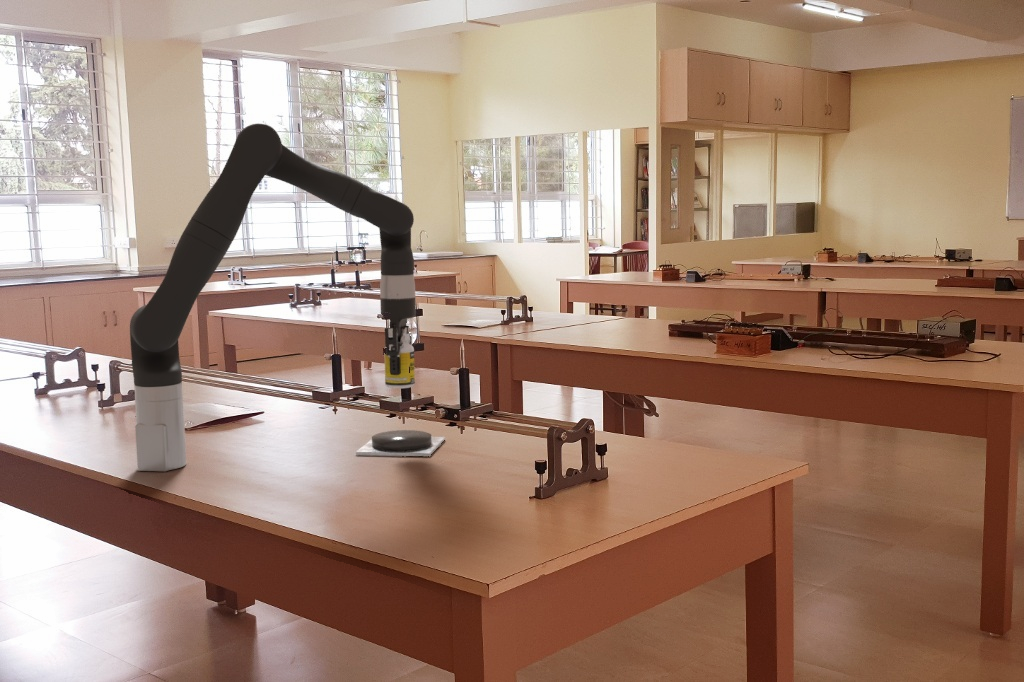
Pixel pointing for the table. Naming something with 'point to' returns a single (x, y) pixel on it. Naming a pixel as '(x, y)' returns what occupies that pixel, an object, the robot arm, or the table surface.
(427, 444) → the stand
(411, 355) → the pill bottle
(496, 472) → the table surface
